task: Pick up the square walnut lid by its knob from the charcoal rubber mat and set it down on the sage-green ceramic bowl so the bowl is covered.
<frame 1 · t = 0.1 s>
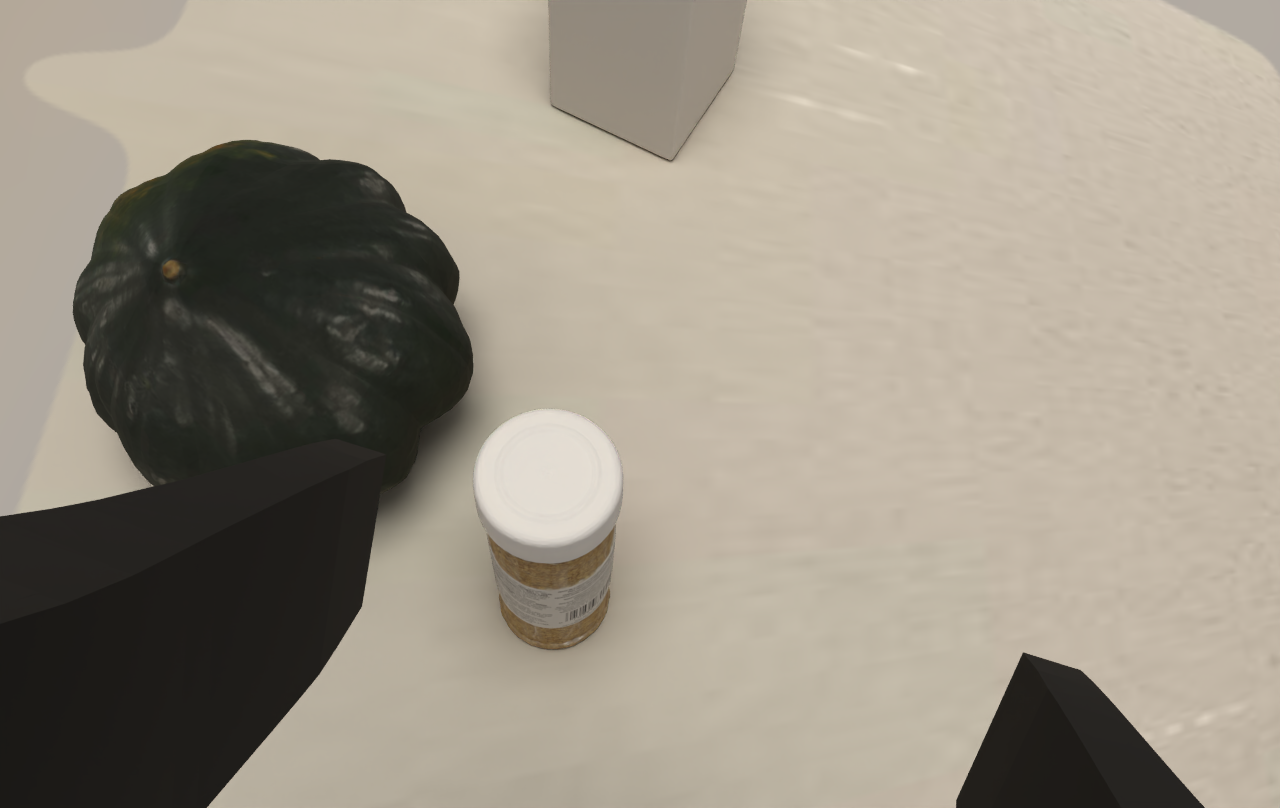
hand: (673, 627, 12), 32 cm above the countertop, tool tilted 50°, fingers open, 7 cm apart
squash: (316, 400, 48), on the countertop
milk carton: (642, 91, 57), on the countertop
sprinkles bottle: (554, 599, 45), on the countertop
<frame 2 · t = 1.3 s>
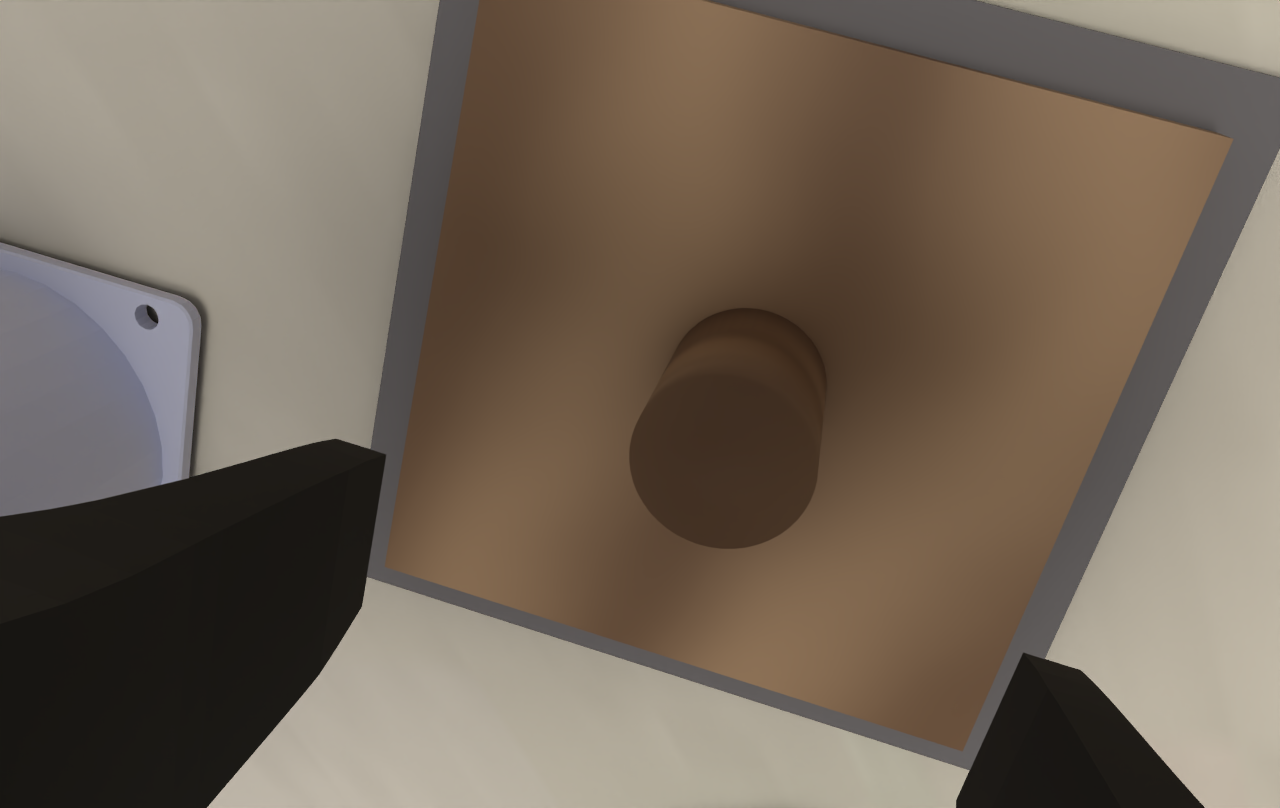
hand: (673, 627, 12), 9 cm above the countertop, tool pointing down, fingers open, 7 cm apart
mat: (753, 361, 21), on the countertop
lid: (751, 368, 20), resting on mat
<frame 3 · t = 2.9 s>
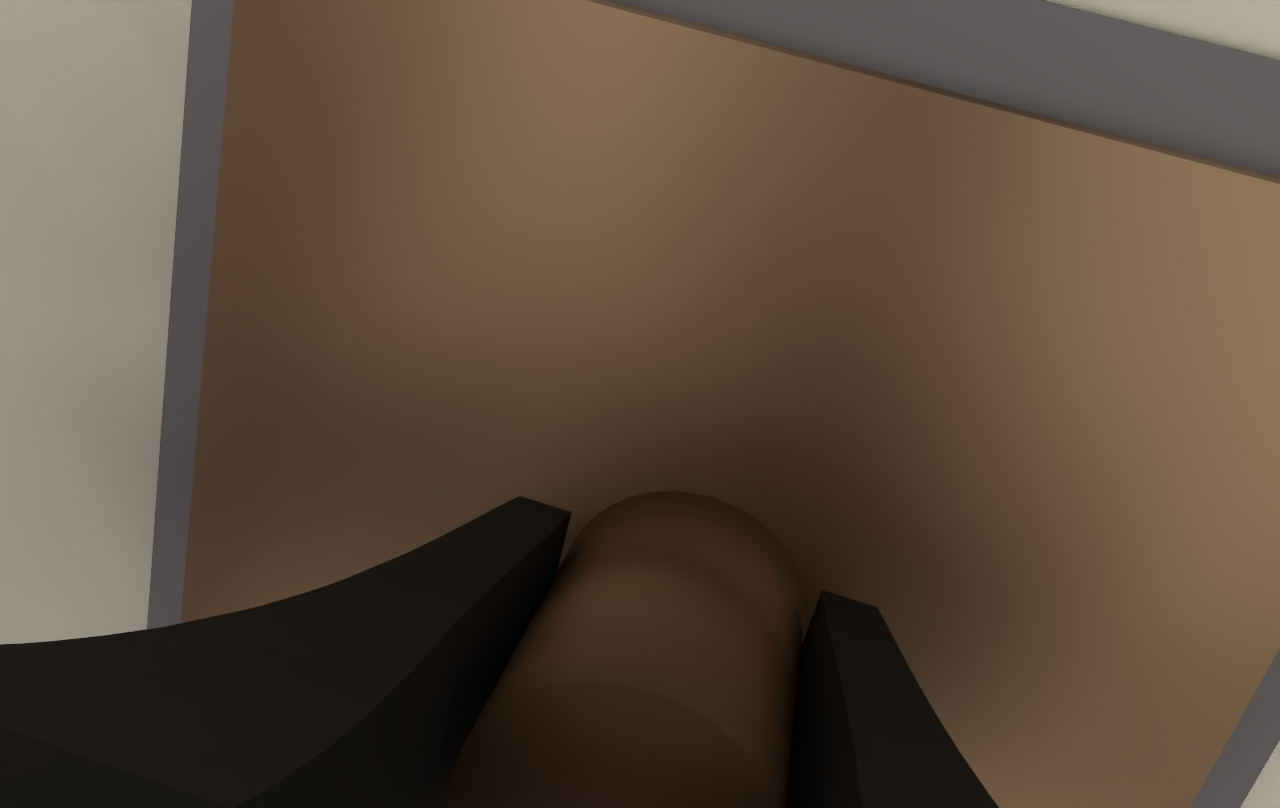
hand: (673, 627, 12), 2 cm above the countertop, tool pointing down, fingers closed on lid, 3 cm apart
mat: (696, 550, 14), on the countertop
lid: (691, 565, 13), resting on mat, touching gripper
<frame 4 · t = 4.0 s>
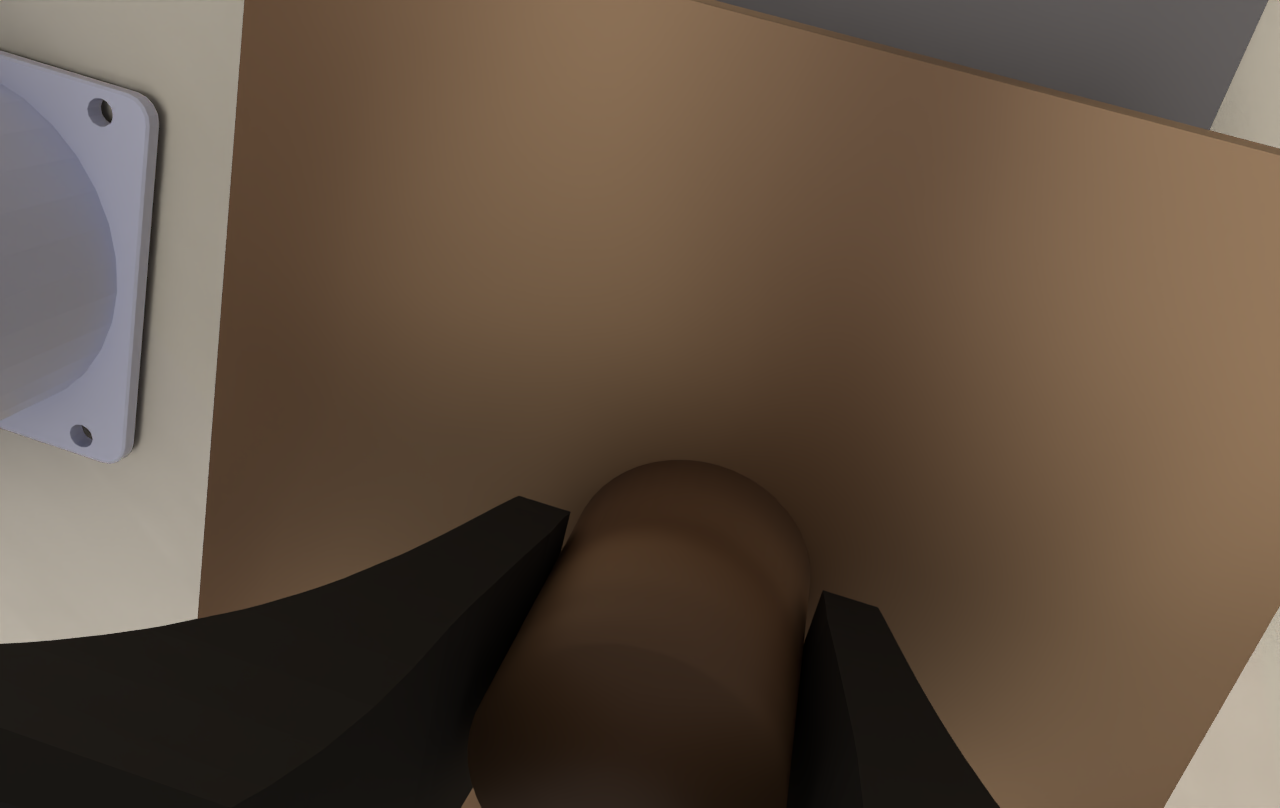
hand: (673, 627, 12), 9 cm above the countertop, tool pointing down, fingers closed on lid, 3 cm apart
mat: (745, 157, 19), on the countertop
lid: (699, 532, 13), point 8 cm above the countertop, touching gripper
when the fingers open (6 cm above the countertop, at t = 5.5 s): lid stays where it is, resting on bowl.
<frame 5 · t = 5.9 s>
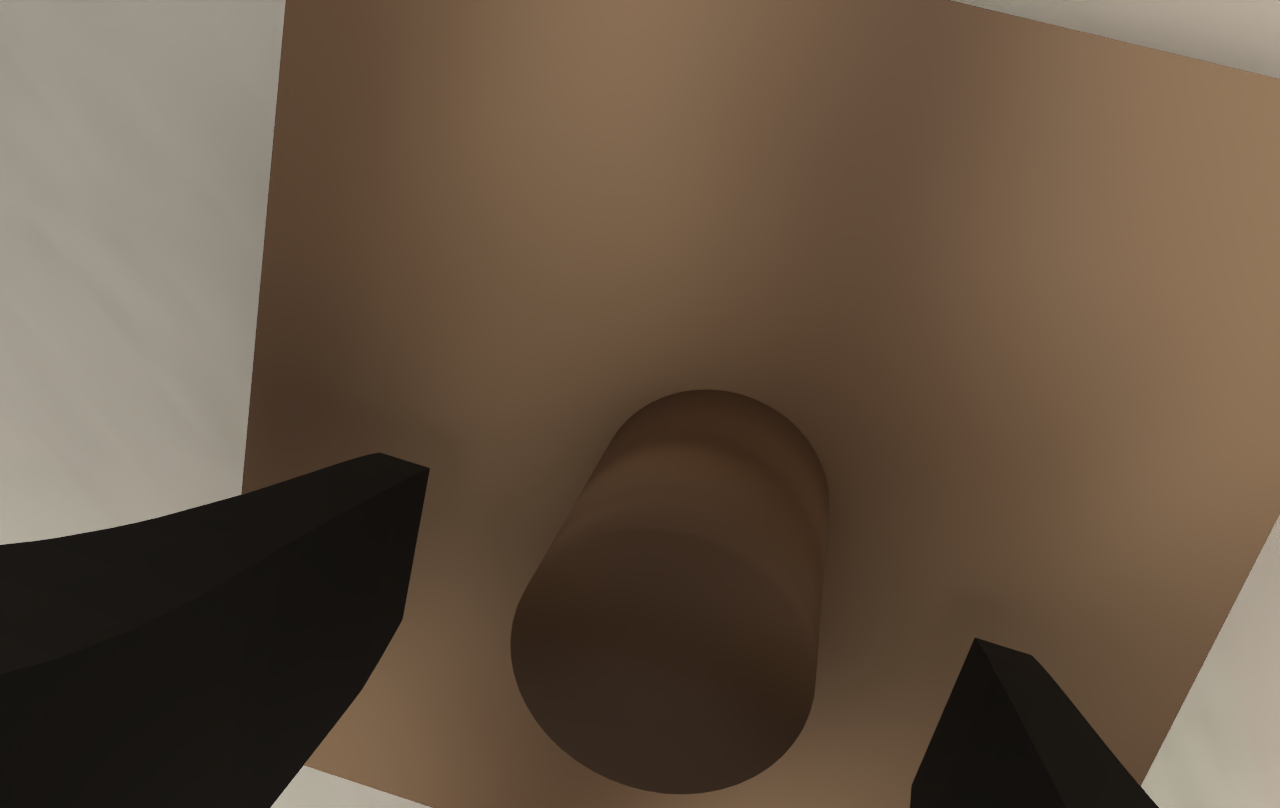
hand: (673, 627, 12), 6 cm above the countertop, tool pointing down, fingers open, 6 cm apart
lid: (720, 469, 14), point 3 cm above the countertop, touching bowl
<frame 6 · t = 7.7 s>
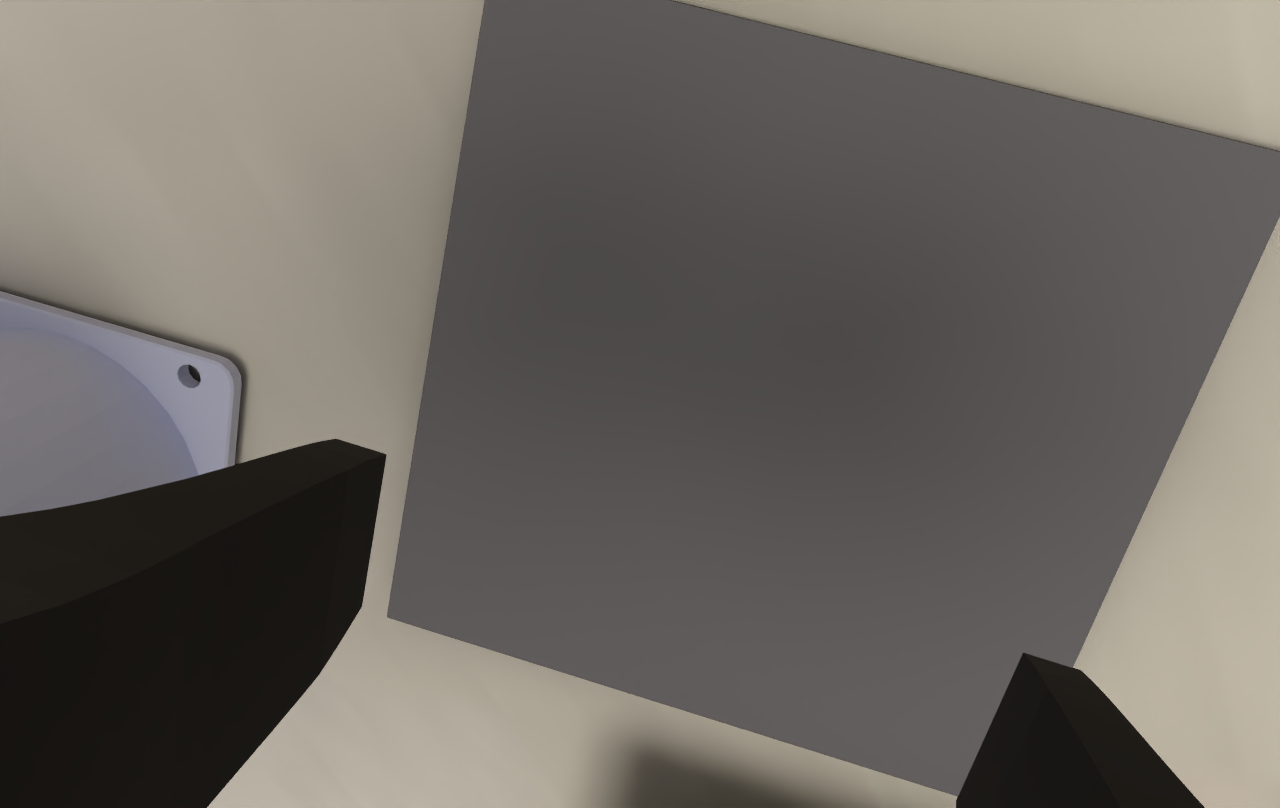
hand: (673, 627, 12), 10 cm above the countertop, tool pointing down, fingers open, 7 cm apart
mat: (774, 417, 21), on the countertop
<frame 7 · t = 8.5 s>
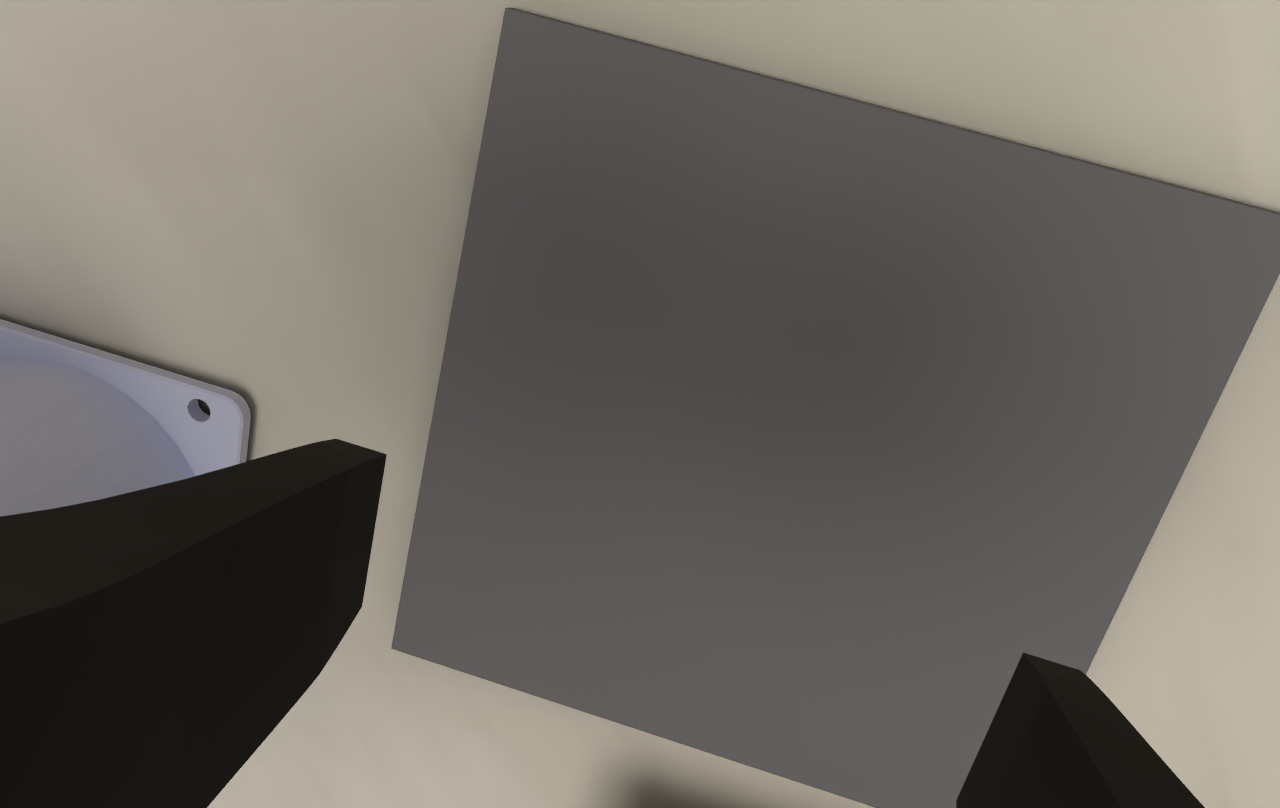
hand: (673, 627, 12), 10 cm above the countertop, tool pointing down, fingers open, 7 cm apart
mat: (778, 460, 22), on the countertop
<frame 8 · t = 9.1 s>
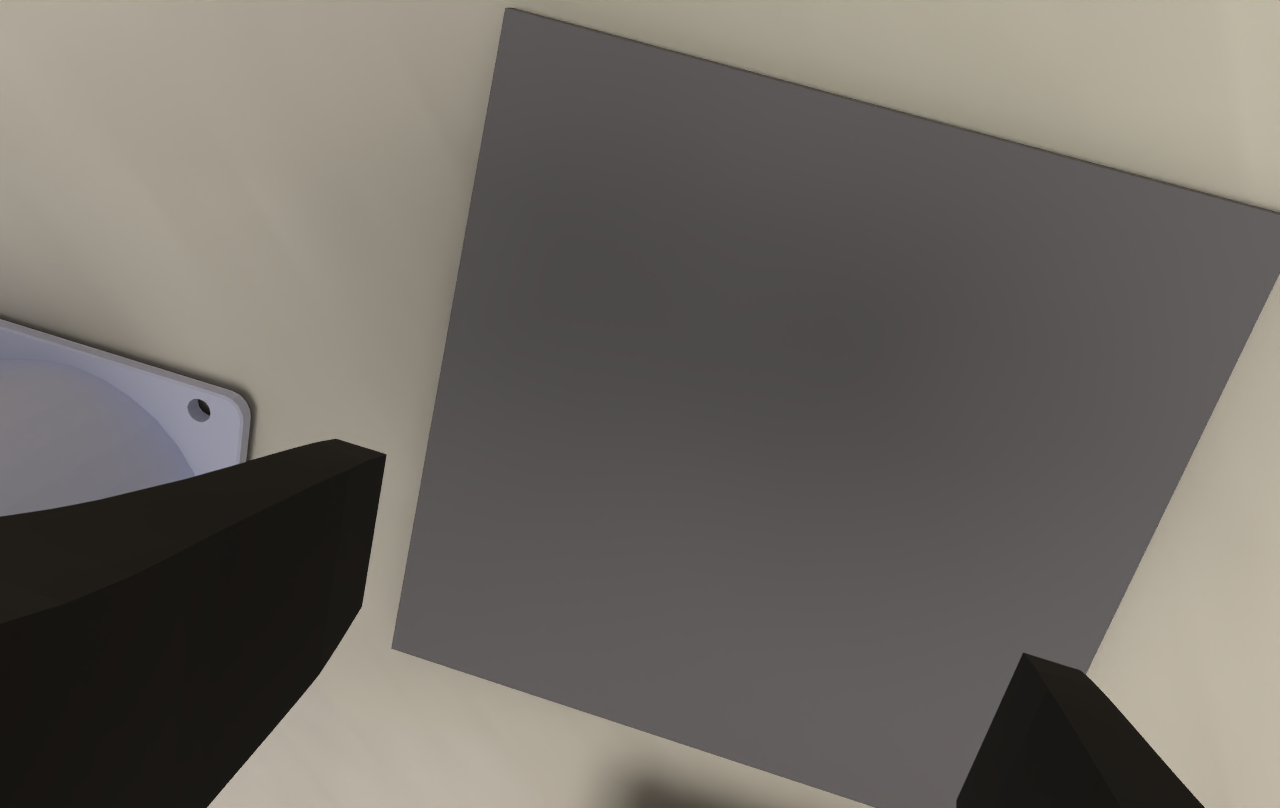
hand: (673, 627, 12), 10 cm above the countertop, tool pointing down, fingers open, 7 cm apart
mat: (778, 460, 22), on the countertop
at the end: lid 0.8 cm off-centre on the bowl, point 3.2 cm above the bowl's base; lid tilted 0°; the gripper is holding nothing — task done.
